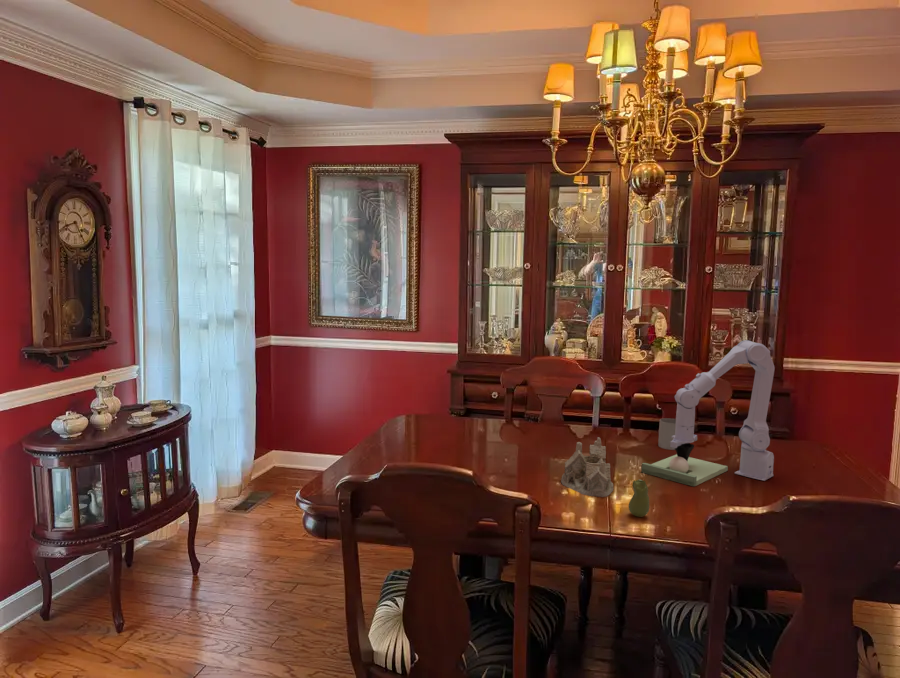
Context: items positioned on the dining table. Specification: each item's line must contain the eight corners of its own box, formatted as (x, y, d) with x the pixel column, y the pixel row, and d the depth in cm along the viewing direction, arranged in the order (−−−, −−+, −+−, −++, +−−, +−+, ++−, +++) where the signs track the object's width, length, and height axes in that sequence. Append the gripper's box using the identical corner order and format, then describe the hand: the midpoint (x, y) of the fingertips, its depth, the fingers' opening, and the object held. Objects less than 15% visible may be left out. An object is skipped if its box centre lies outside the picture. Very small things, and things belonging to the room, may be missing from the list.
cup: (683, 450, 232) (684, 424, 231) (659, 449, 234) (661, 422, 232) (679, 444, 240) (681, 419, 239) (657, 442, 242) (658, 417, 241)
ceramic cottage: (563, 474, 202) (566, 430, 199) (615, 483, 196) (619, 438, 193) (554, 493, 188) (557, 446, 185) (610, 503, 182) (614, 455, 179)
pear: (650, 520, 166) (652, 484, 165) (630, 519, 167) (632, 483, 165) (645, 512, 172) (647, 477, 171) (626, 511, 172) (627, 476, 171)
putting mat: (727, 470, 209) (728, 461, 209) (693, 486, 193) (694, 477, 192) (676, 458, 222) (677, 450, 222) (641, 472, 206) (641, 463, 206)
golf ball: (680, 466, 199) (682, 481, 201) (691, 456, 201) (693, 471, 204) (664, 460, 203) (666, 474, 206) (675, 450, 206) (677, 464, 208)
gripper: (683, 419, 212) (681, 458, 214) (662, 426, 203) (660, 466, 204) (704, 423, 207) (701, 463, 209) (683, 430, 197) (680, 472, 199)
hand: (682, 465), depth 206 cm, fingers closed, pressing on golf ball
